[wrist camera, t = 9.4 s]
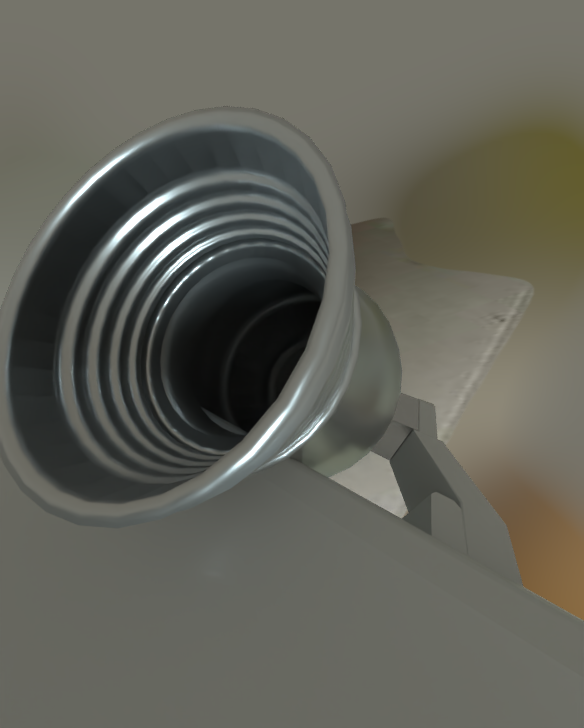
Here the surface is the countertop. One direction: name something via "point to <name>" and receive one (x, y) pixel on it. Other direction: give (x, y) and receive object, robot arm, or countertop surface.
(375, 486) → the countertop surface
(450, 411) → the countertop surface
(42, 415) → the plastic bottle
